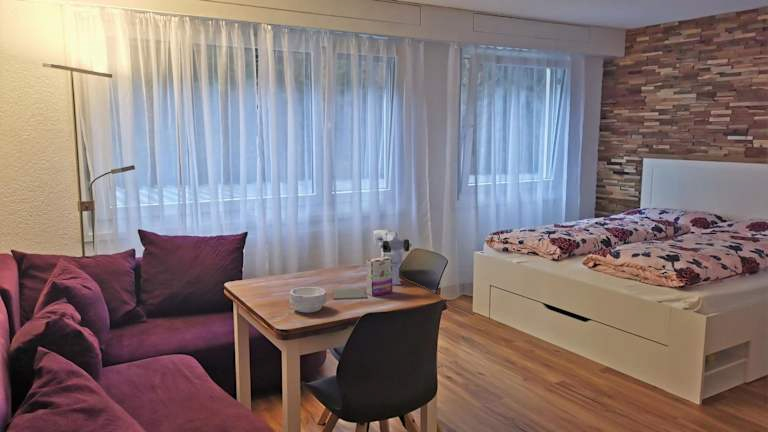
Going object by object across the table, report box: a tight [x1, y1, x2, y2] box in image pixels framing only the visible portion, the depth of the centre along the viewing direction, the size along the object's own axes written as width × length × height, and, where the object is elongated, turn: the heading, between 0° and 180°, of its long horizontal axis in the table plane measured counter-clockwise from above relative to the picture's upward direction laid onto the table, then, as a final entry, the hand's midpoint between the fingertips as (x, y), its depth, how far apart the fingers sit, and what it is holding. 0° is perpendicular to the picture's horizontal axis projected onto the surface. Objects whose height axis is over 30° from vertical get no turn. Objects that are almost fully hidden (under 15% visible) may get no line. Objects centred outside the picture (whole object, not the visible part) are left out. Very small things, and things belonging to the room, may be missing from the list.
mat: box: [332, 288, 368, 300], centre depth 269 cm, size 14×14×1 cm
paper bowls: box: [289, 286, 328, 314], centre depth 246 cm, size 15×15×8 cm
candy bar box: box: [365, 256, 393, 297], centre depth 269 cm, size 11×5×16 cm, turn 123°
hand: (398, 249), depth 267 cm, fingers open, 7 cm apart
